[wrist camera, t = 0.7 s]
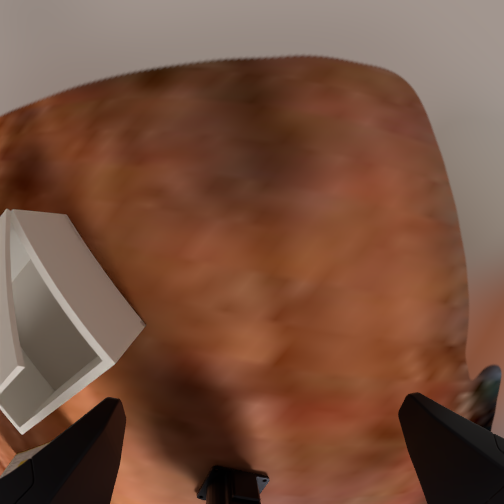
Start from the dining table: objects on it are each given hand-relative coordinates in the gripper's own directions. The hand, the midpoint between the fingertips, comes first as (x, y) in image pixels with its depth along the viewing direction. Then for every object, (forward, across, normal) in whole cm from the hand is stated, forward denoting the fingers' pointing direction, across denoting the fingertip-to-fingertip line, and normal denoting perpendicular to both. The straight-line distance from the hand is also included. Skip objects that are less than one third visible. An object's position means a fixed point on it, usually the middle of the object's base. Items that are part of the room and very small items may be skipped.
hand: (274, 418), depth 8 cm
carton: (+16, +17, +7) cm, 24 cm away
